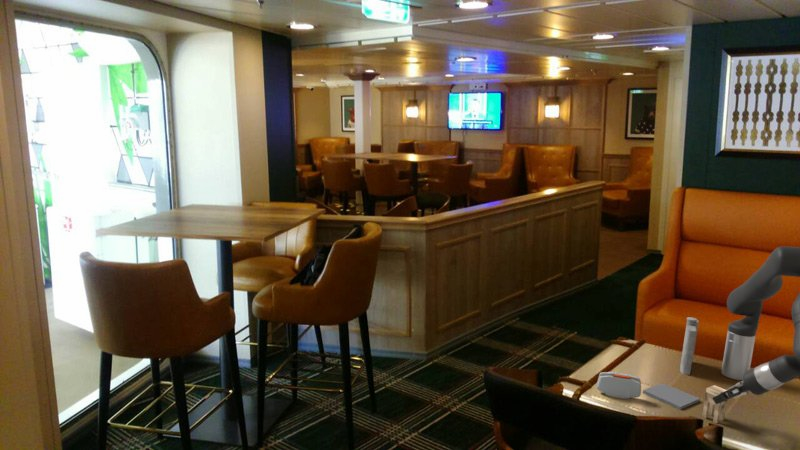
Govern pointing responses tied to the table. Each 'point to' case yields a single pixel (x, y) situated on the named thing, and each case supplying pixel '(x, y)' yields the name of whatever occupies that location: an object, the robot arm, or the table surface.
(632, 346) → the table surface
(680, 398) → the mat
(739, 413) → the table surface
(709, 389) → the beech stool
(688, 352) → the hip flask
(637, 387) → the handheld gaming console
